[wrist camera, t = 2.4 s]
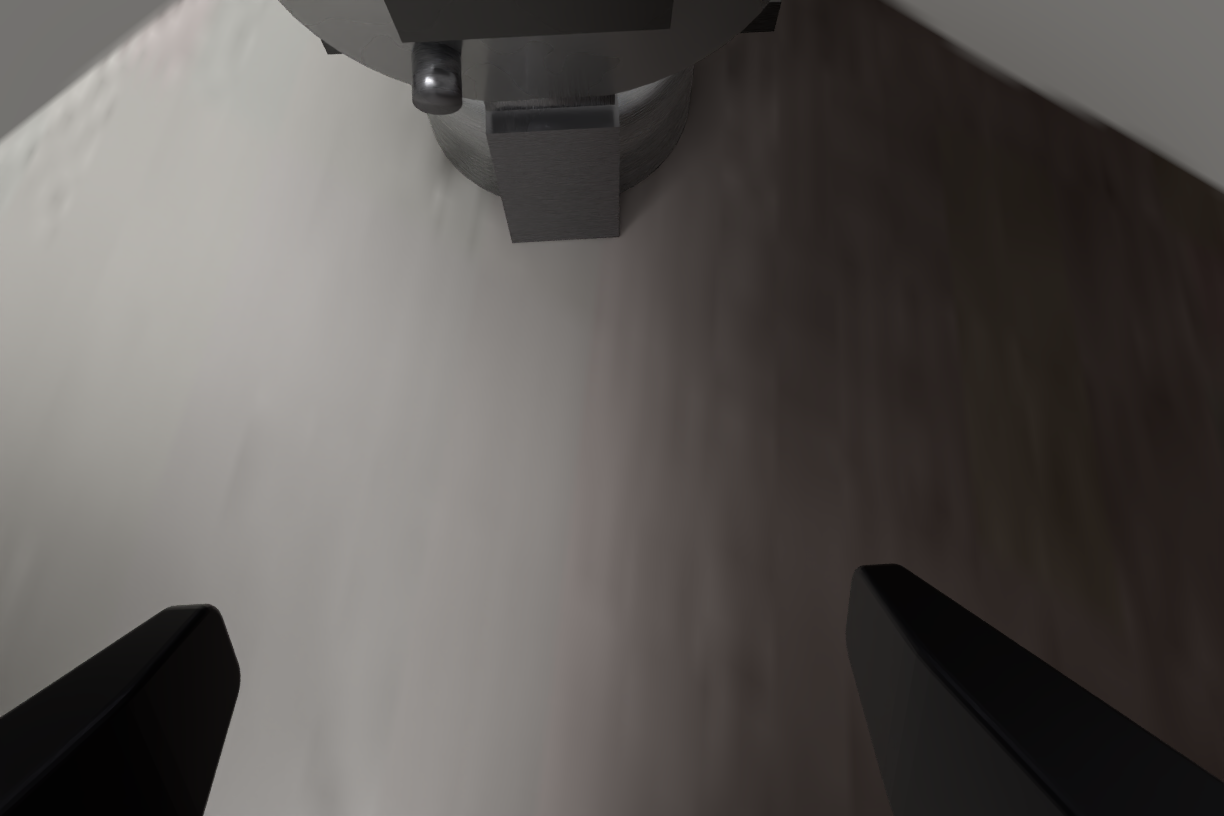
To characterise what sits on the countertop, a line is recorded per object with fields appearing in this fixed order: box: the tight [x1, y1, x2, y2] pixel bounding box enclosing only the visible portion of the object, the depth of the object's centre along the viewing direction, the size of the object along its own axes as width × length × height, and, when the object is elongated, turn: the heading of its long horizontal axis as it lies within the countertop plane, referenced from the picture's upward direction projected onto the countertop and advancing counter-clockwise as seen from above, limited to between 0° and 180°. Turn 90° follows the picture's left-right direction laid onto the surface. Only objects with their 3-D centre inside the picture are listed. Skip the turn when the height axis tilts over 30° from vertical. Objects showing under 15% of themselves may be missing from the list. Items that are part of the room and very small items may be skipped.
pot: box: [321, 0, 781, 243], centre depth 22 cm, size 12×10×5 cm
